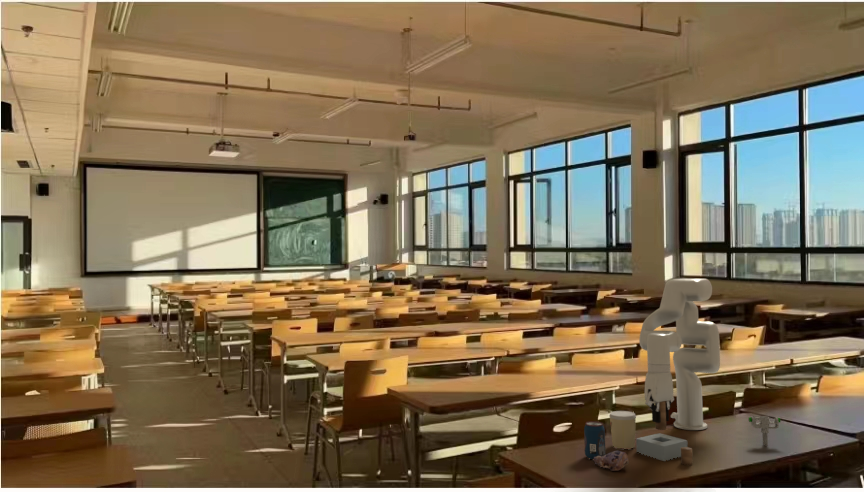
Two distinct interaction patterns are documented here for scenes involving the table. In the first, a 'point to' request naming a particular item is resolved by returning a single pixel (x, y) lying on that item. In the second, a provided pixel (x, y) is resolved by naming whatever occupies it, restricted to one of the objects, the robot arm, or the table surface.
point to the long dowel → (662, 416)
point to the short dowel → (686, 456)
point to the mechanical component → (764, 425)
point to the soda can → (594, 439)
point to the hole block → (660, 446)
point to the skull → (612, 460)
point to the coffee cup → (623, 429)
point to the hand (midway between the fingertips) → (660, 420)
